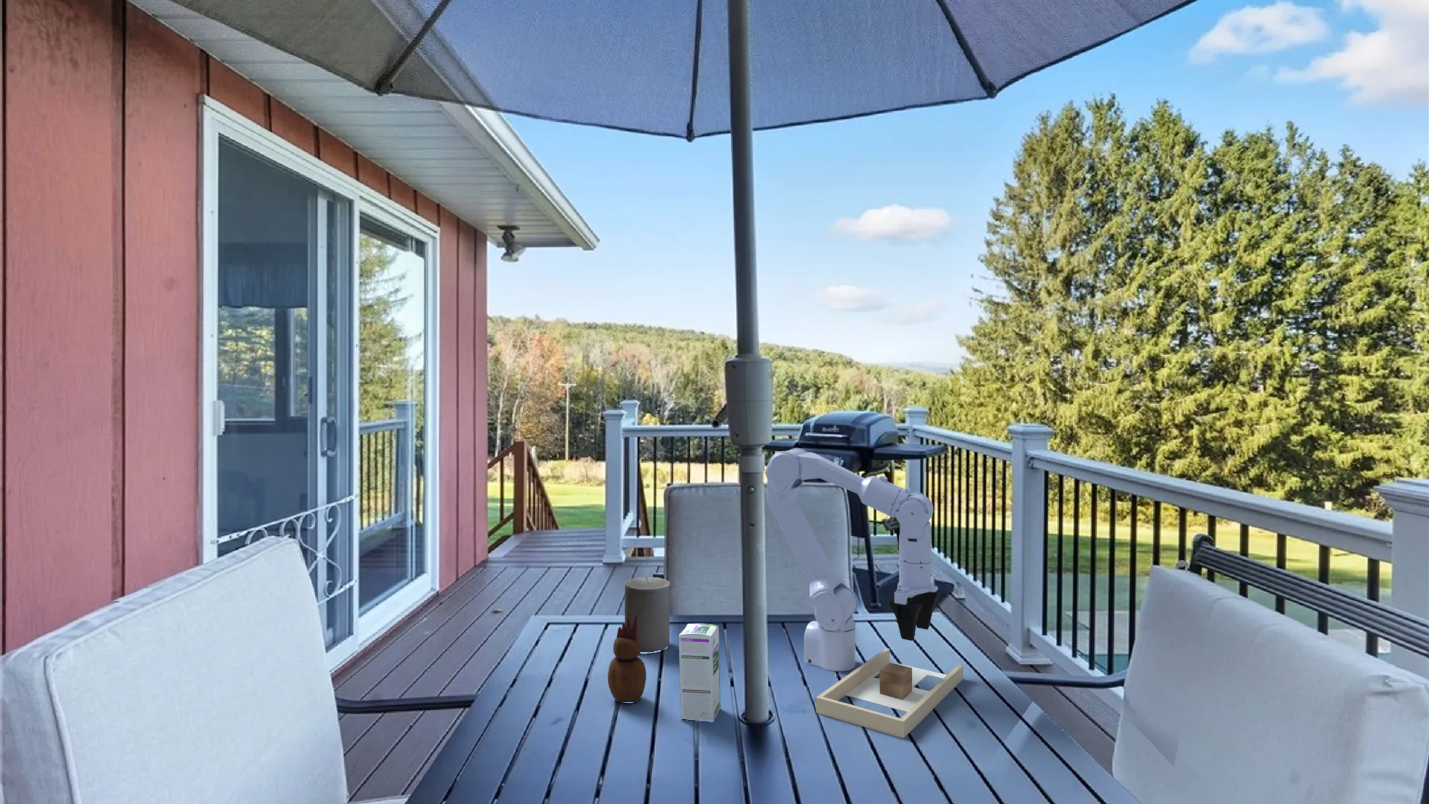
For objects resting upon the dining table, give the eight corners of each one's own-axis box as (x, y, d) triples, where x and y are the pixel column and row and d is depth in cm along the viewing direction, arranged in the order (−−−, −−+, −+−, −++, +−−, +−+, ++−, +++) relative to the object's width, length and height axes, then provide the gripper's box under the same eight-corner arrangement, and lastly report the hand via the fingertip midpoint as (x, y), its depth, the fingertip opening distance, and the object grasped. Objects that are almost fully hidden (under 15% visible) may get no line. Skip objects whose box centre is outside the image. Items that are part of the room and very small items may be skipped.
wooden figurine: (652, 700, 128) (651, 615, 128) (627, 710, 124) (626, 623, 124) (627, 689, 133) (626, 607, 132) (602, 699, 128) (601, 615, 128)
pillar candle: (616, 652, 152) (617, 580, 151) (635, 636, 161) (635, 569, 161) (660, 657, 149) (660, 584, 148) (676, 641, 158) (676, 572, 158)
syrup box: (714, 723, 119) (713, 635, 119) (679, 720, 120) (678, 633, 120) (720, 708, 124) (720, 624, 124) (687, 705, 126) (686, 622, 125)
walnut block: (879, 693, 126) (879, 669, 126) (889, 685, 130) (889, 662, 130) (902, 699, 124) (902, 675, 124) (912, 691, 127) (912, 667, 127)
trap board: (816, 721, 119) (816, 697, 119) (885, 668, 142) (885, 648, 142) (903, 747, 110) (903, 721, 110) (963, 686, 133) (963, 665, 133)
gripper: (921, 571, 125) (921, 649, 126) (950, 555, 137) (950, 627, 137) (883, 565, 130) (883, 641, 130) (914, 551, 141) (914, 620, 141)
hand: (915, 633), depth 134 cm, fingers open, 7 cm apart
